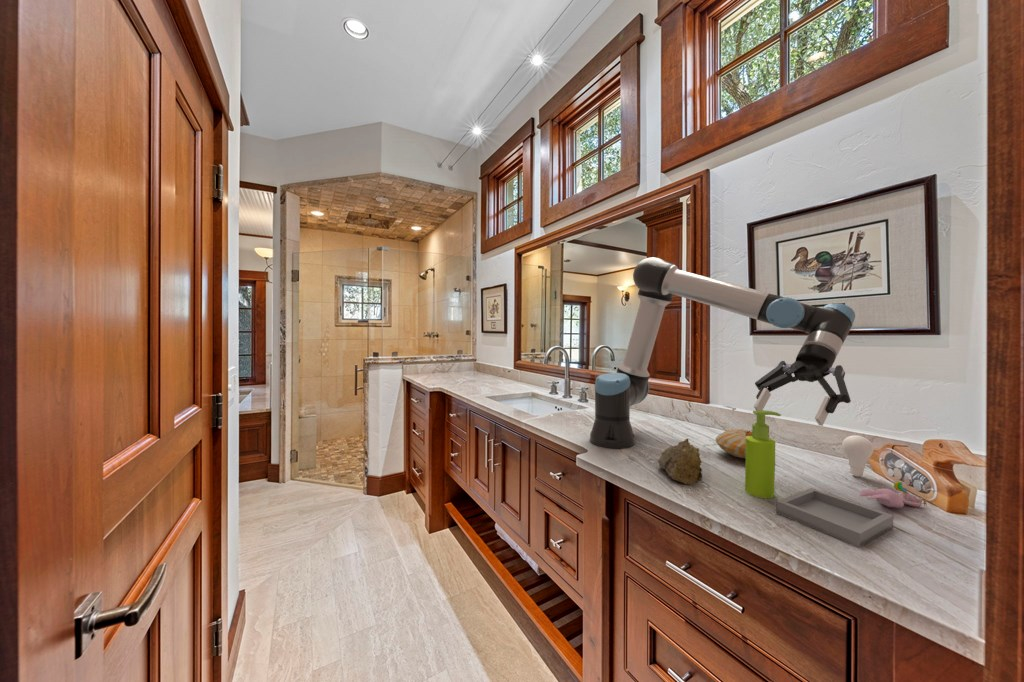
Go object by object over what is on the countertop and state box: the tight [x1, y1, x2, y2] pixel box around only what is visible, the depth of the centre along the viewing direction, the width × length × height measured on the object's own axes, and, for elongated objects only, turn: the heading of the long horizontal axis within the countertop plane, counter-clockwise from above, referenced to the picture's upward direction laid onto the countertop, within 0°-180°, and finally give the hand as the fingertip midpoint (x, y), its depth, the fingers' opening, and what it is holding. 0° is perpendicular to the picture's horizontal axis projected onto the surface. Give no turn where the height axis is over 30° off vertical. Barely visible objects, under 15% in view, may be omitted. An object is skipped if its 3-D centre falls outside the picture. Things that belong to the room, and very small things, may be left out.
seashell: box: [656, 438, 703, 486], centre depth 101 cm, size 11×15×10 cm
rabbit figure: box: [859, 481, 928, 509], centre depth 82 cm, size 6×6×15 cm
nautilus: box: [715, 428, 771, 460], centre depth 114 cm, size 8×22×15 cm
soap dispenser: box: [744, 409, 782, 499], centre depth 89 cm, size 6×7×20 cm
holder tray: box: [776, 487, 894, 548], centre depth 77 cm, size 14×14×3 cm
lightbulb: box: [841, 434, 875, 478], centre depth 98 cm, size 6×6×11 cm
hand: (785, 415), depth 91 cm, fingers open, 13 cm apart
